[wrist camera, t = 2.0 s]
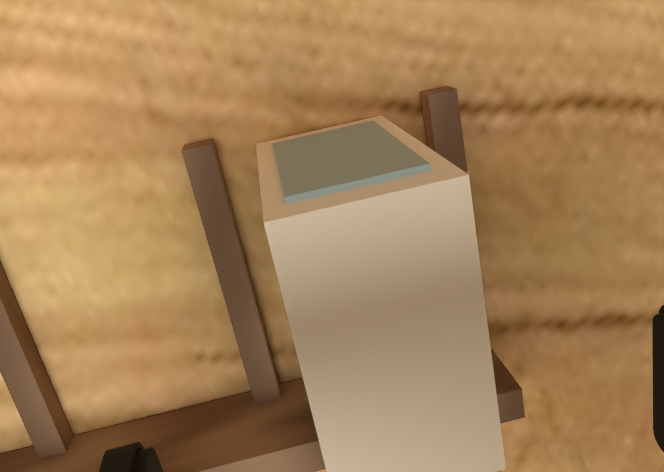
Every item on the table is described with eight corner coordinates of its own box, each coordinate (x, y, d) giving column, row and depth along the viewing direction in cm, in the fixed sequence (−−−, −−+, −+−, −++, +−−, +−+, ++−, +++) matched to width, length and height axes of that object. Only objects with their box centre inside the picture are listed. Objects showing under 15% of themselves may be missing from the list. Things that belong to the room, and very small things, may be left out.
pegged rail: (447, 86, 22) (490, 99, 18) (483, 358, 25) (524, 416, 22) (-318, 258, 20) (-447, 312, 16) (-156, 520, 24) (-231, 612, 20)
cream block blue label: (380, 110, 22) (467, 168, 13) (415, 315, 24) (506, 469, 16) (254, 139, 21) (261, 215, 13) (304, 342, 24) (337, 513, 16)
